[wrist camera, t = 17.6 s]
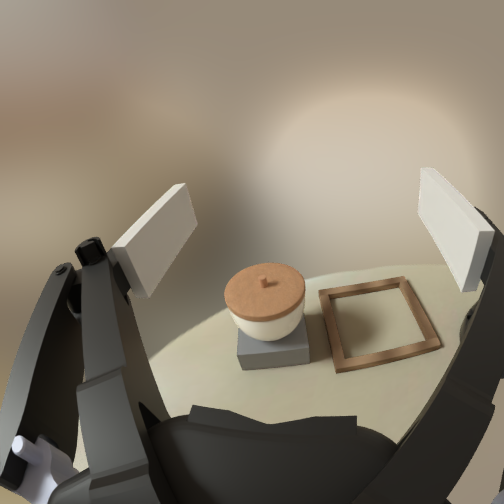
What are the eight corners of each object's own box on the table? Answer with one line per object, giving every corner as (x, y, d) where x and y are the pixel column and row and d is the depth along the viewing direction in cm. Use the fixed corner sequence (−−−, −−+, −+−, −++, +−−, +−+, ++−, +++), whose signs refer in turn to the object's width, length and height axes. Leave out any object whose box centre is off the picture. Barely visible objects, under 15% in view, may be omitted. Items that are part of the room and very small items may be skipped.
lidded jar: (320, 313, 42) (318, 263, 37) (282, 365, 35) (274, 318, 30) (262, 293, 48) (253, 246, 43) (221, 336, 41) (204, 289, 36)
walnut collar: (402, 280, 49) (403, 275, 48) (438, 349, 35) (440, 344, 34) (318, 294, 51) (318, 290, 50) (335, 373, 37) (336, 369, 36)
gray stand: (302, 315, 47) (301, 298, 45) (309, 363, 39) (309, 347, 37) (244, 322, 48) (240, 306, 46) (242, 370, 40) (236, 355, 38)
